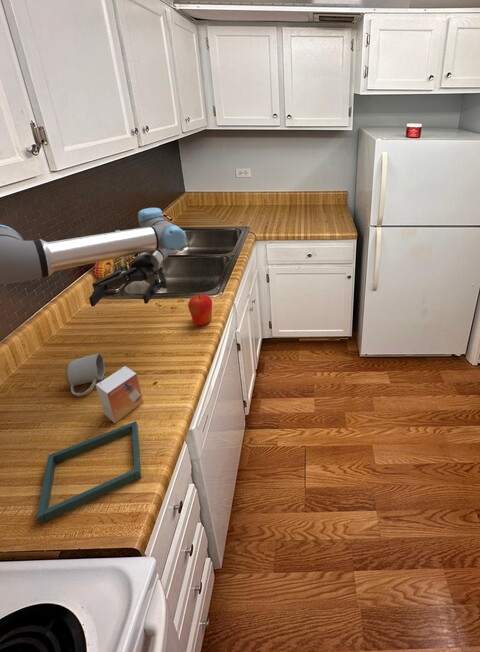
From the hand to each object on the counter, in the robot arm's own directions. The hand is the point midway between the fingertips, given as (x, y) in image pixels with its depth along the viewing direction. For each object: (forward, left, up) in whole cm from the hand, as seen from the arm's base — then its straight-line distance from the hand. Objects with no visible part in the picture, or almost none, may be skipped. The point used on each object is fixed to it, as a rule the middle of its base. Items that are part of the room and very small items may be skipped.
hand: (118, 300), depth 89 cm
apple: (+23, +20, -28) cm, 41 cm away
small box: (-4, -9, -28) cm, 30 cm away
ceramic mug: (-13, +6, -28) cm, 32 cm away
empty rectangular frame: (-10, -24, -28) cm, 38 cm away
